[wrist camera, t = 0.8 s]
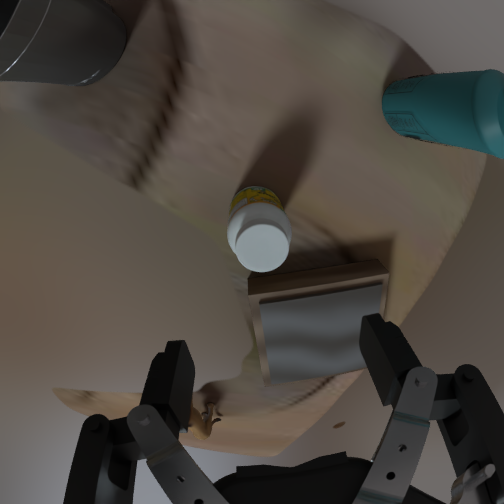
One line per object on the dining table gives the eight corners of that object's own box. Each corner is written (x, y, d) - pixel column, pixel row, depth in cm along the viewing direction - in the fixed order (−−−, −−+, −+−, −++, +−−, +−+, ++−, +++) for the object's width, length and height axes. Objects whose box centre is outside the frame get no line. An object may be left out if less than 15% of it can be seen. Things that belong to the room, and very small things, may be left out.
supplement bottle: (219, 211, 30) (210, 251, 21) (254, 174, 28) (260, 198, 20) (257, 243, 32) (263, 292, 23) (292, 208, 30) (312, 246, 21)
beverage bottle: (381, 141, 27) (532, 190, 9) (365, 82, 24) (517, 62, 6) (426, 131, 26) (571, 172, 8) (413, 76, 23) (561, 72, 5)
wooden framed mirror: (247, 278, 33) (248, 298, 30) (377, 259, 33) (391, 275, 29) (263, 368, 40) (264, 389, 37) (366, 350, 40) (374, 369, 36)
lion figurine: (153, 380, 41) (142, 424, 33) (176, 370, 40) (166, 417, 32) (210, 420, 47) (207, 460, 39) (233, 413, 46) (232, 455, 38)
